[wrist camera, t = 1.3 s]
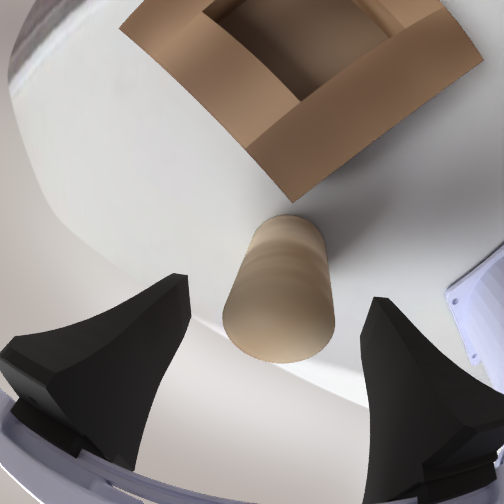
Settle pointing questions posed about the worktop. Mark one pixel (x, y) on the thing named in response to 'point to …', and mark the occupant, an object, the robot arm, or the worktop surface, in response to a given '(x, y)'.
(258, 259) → the pin
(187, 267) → the worktop surface
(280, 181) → the socket block
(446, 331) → the worktop surface
